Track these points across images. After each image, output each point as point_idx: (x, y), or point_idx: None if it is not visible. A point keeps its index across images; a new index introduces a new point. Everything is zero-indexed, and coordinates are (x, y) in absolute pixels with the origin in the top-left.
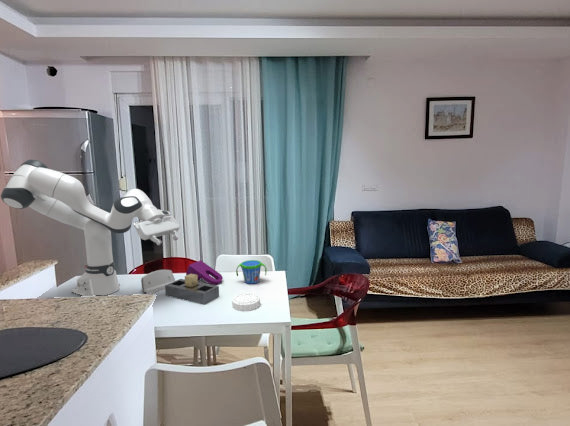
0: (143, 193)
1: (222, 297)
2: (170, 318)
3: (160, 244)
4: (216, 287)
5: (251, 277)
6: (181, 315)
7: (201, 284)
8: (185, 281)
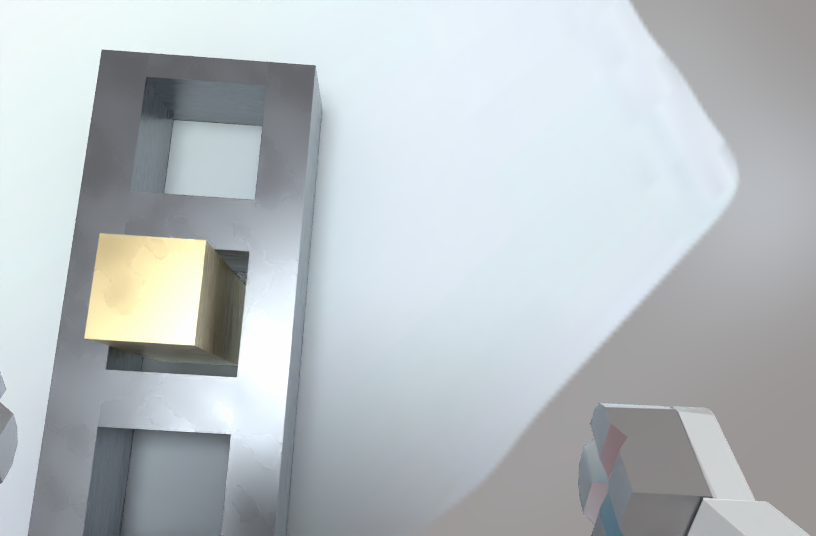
0: None
1: None
2: (624, 189)
3: (594, 464)
4: (137, 52)
5: None
6: (551, 149)
7: None
8: (208, 344)
